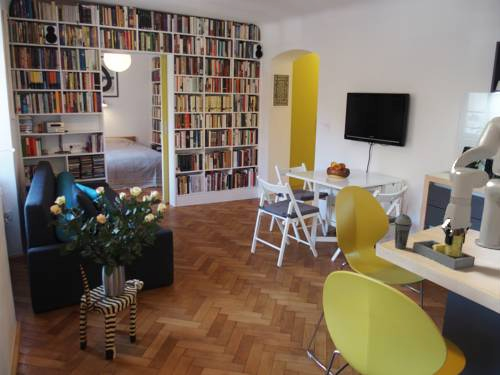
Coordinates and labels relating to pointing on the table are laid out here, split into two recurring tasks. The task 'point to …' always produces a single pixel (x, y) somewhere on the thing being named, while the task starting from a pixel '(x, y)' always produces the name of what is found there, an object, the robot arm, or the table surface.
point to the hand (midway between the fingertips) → (454, 243)
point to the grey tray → (442, 255)
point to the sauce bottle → (455, 244)
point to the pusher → (439, 248)
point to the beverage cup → (402, 230)
